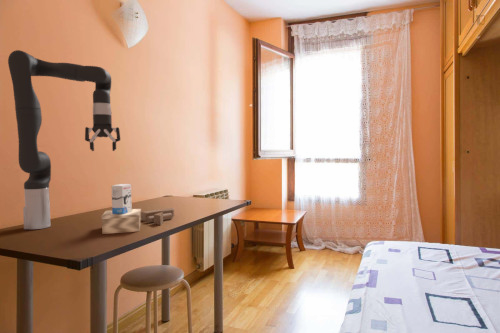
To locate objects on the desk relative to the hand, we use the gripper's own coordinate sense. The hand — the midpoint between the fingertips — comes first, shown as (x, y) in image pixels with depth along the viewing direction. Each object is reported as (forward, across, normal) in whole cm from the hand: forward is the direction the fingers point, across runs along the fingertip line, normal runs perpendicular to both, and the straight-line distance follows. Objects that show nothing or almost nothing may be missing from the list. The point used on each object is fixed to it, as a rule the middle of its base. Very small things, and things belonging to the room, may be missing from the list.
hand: (103, 150), depth 152 cm
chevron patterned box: (+33, +8, -11) cm, 36 cm away
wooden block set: (+34, +26, +2) cm, 43 cm away
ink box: (+26, +8, -11) cm, 30 cm away
